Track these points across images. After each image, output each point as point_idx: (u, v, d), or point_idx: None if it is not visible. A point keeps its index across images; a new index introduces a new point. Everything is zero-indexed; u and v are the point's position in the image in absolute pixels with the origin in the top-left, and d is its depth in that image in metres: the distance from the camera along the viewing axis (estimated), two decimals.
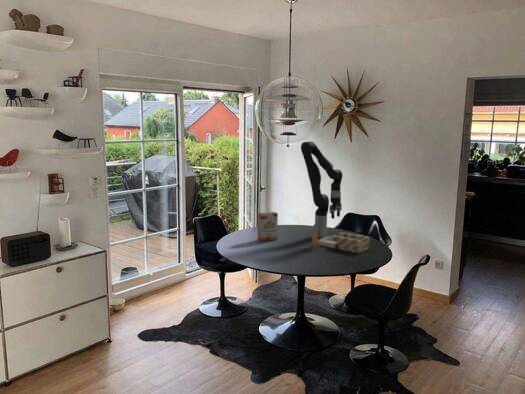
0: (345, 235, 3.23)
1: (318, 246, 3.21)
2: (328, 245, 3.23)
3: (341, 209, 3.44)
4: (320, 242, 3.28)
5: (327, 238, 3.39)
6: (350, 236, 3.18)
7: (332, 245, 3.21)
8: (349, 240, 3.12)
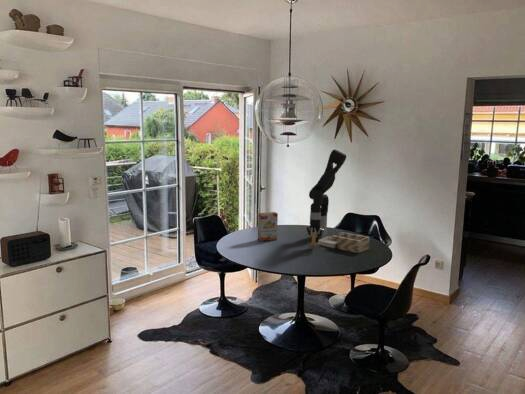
0: (345, 235, 3.23)
1: (318, 246, 3.21)
2: (328, 245, 3.23)
3: None
4: (320, 242, 3.28)
5: (327, 238, 3.39)
6: (350, 236, 3.18)
7: (332, 245, 3.21)
8: (349, 240, 3.12)
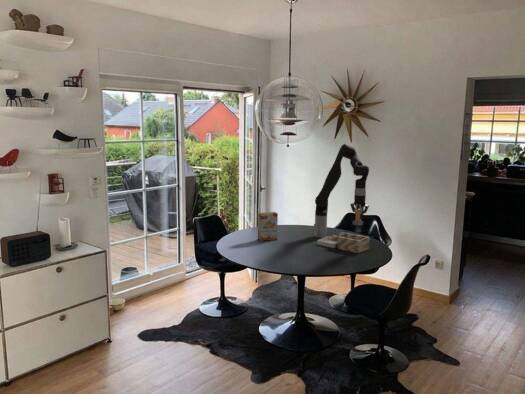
0: (345, 235, 3.23)
1: (361, 223, 3.14)
2: (328, 245, 3.23)
3: None
4: (320, 242, 3.28)
5: (327, 238, 3.39)
6: (350, 236, 3.18)
7: (332, 245, 3.21)
8: (349, 240, 3.12)
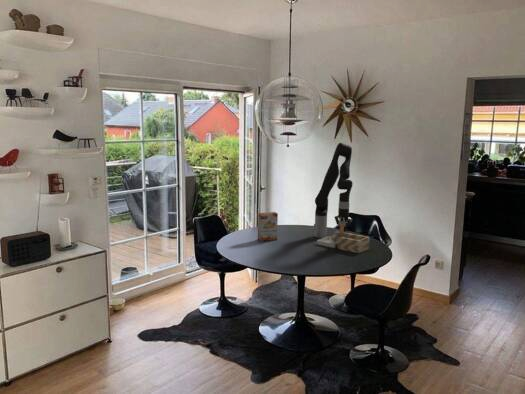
0: None
1: (345, 235, 3.24)
2: (328, 245, 3.23)
3: None
4: (320, 242, 3.28)
5: (327, 238, 3.39)
6: None
7: (332, 245, 3.21)
8: (349, 240, 3.12)
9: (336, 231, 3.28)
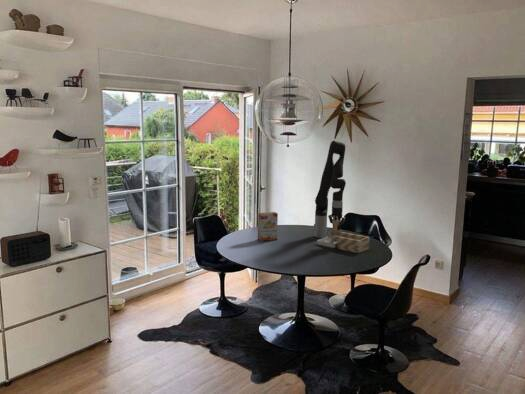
0: None
1: (339, 233, 3.27)
2: (328, 245, 3.23)
3: None
4: (320, 242, 3.28)
5: None
6: None
7: (332, 245, 3.21)
8: (349, 240, 3.12)
9: None
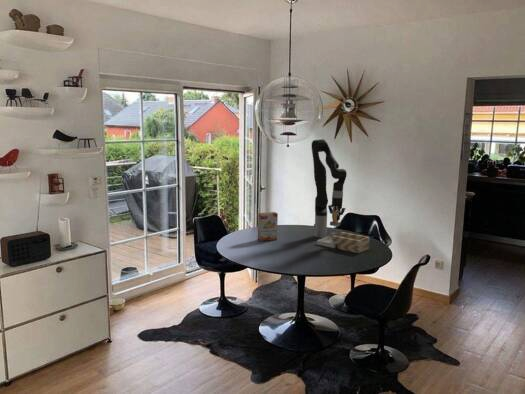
0: None
1: (338, 224, 3.26)
2: (328, 245, 3.23)
3: None
4: (320, 242, 3.28)
5: (327, 238, 3.39)
6: None
7: (332, 245, 3.21)
8: (349, 240, 3.12)
9: (332, 232, 3.30)
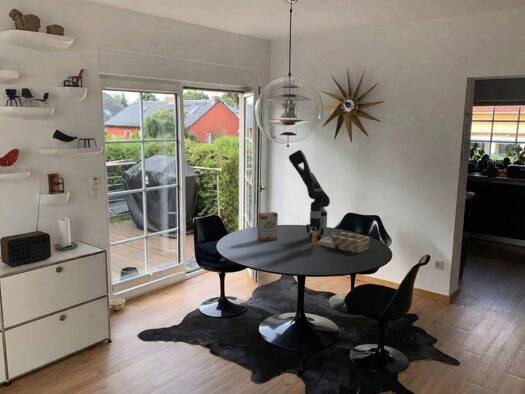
0: None
1: (318, 246, 3.21)
2: (328, 245, 3.23)
3: None
4: (320, 242, 3.28)
5: (327, 238, 3.39)
6: None
7: (332, 245, 3.21)
8: (349, 240, 3.12)
9: (332, 232, 3.30)
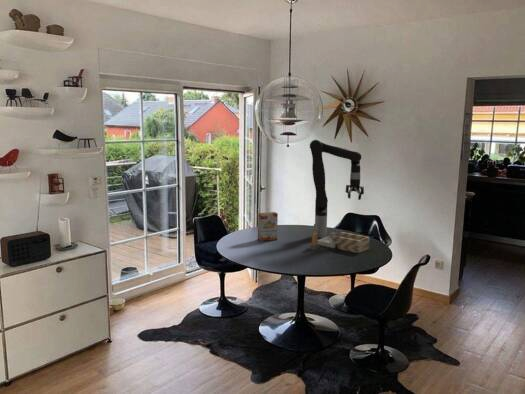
0: None
1: (318, 246, 3.21)
2: (328, 245, 3.23)
3: None
4: (320, 242, 3.28)
5: (327, 238, 3.39)
6: None
7: (332, 245, 3.21)
8: (349, 240, 3.12)
9: (332, 232, 3.30)
